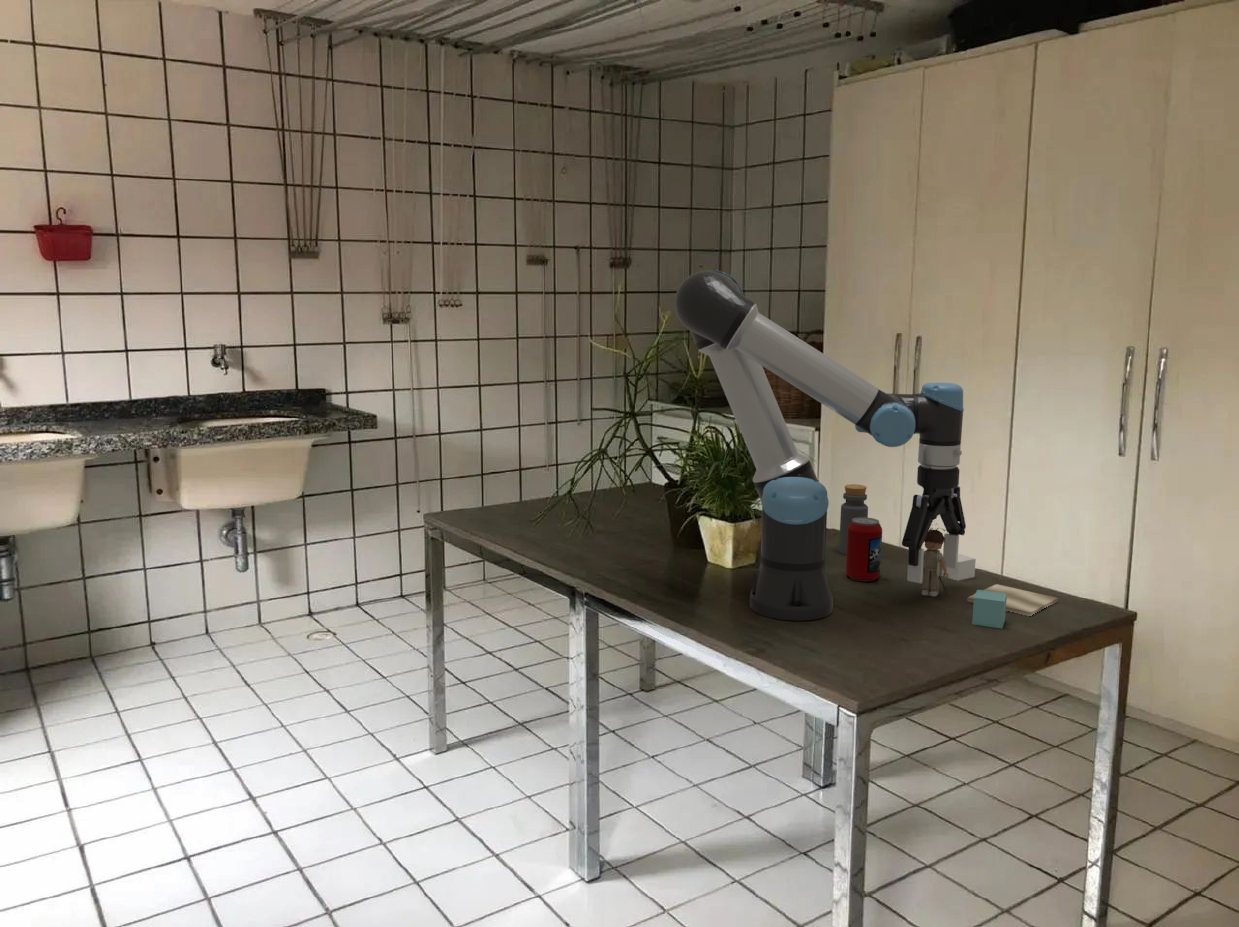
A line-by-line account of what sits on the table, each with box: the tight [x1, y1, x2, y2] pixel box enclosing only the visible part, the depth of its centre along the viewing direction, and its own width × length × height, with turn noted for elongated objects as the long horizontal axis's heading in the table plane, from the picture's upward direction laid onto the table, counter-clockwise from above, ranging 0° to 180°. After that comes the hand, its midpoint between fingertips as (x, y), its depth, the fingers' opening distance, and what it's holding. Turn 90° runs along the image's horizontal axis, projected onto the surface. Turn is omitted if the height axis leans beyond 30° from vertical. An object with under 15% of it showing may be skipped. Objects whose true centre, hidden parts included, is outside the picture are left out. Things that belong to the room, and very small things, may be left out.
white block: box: [941, 553, 977, 581], centre depth 204 cm, size 5×4×4 cm
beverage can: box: [845, 517, 883, 582], centre depth 202 cm, size 7×7×12 cm
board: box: [966, 583, 1059, 617], centre depth 188 cm, size 12×12×1 cm
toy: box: [921, 519, 951, 597], centre depth 191 cm, size 6×6×15 cm
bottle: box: [838, 483, 869, 556], centre depth 221 cm, size 6×6×15 cm
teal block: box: [971, 589, 1007, 630], centre depth 177 cm, size 5×5×5 cm
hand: (932, 574), depth 192 cm, fingers open, 13 cm apart
